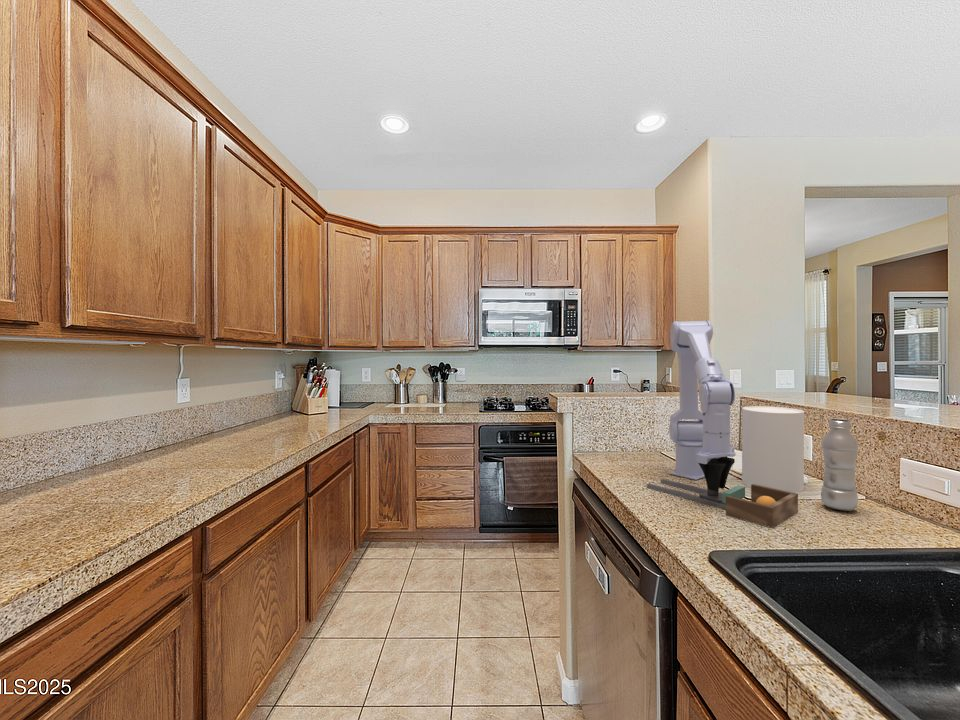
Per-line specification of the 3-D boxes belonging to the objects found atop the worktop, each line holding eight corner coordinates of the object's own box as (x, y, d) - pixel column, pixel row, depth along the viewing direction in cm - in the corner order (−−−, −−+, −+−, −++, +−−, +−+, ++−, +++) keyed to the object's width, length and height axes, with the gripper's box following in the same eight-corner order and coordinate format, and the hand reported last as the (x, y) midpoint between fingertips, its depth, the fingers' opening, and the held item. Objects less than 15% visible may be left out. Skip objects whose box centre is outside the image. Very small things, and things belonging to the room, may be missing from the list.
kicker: (712, 492, 107) (712, 466, 107) (745, 501, 101) (745, 473, 101) (695, 499, 102) (695, 472, 102) (729, 509, 96) (729, 479, 96)
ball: (764, 513, 96) (757, 495, 97) (783, 511, 93) (776, 493, 94) (756, 517, 94) (749, 498, 95) (776, 516, 91) (768, 496, 92)
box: (752, 500, 102) (752, 483, 102) (797, 511, 95) (798, 493, 95) (725, 514, 94) (725, 496, 94) (772, 528, 87) (772, 508, 87)
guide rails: (662, 482, 117) (662, 478, 117) (742, 502, 101) (742, 498, 101) (647, 487, 113) (646, 483, 113) (727, 509, 97) (727, 505, 97)
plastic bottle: (849, 505, 99) (850, 418, 98) (864, 516, 92) (865, 423, 92) (815, 502, 101) (816, 417, 100) (828, 512, 94) (828, 421, 94)
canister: (760, 474, 123) (760, 405, 123) (814, 487, 111) (815, 410, 111) (731, 481, 117) (731, 408, 117) (785, 496, 105) (785, 414, 105)
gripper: (719, 438, 95) (719, 500, 95) (748, 430, 103) (747, 487, 103) (687, 433, 100) (687, 491, 100) (717, 426, 109) (717, 480, 109)
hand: (716, 488), depth 102 cm, fingers closed on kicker, 2 cm apart
